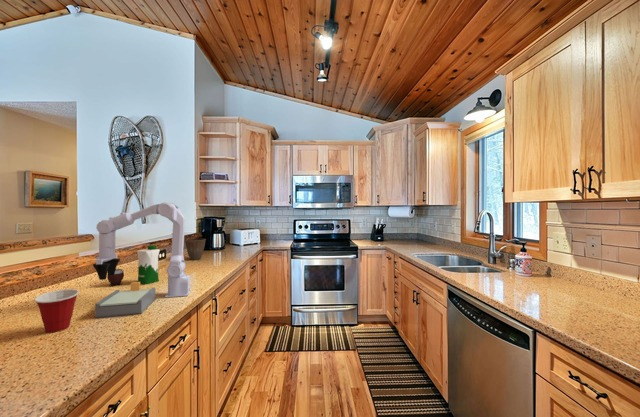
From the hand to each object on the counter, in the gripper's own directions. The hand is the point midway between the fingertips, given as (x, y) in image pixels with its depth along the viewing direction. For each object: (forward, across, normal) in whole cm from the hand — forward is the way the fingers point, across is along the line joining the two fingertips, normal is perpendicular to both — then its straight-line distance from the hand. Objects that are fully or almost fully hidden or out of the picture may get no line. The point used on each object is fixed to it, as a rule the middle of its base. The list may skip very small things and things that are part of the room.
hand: (107, 277), depth 117 cm
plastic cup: (+10, +29, -2) cm, 31 cm away
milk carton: (+10, -27, +8) cm, 30 cm away
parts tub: (+10, +14, +13) cm, 21 cm away
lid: (+6, +13, +13) cm, 20 cm away
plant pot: (+10, -90, +22) cm, 93 cm away
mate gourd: (+10, -25, -7) cm, 28 cm away
